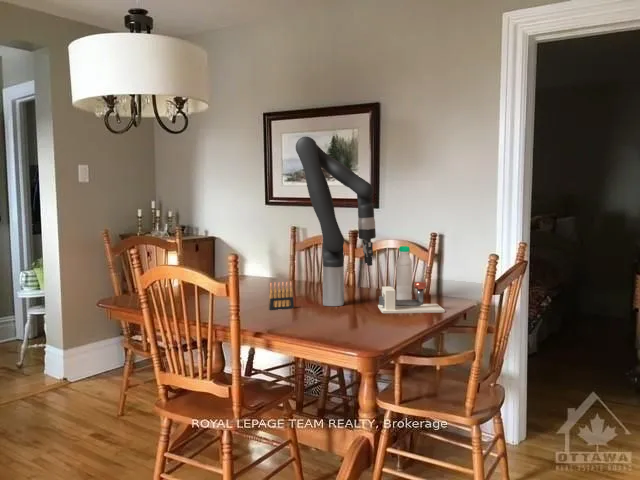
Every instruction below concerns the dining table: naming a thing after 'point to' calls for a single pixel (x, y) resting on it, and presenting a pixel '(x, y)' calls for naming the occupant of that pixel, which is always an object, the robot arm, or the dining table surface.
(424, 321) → the dining table surface
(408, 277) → the water bottle
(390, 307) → the cream l-shaped stand
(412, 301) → the ball knob lever
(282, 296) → the ammunition clip
